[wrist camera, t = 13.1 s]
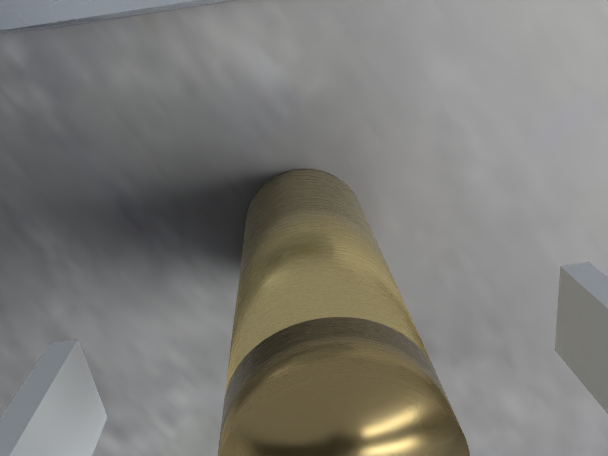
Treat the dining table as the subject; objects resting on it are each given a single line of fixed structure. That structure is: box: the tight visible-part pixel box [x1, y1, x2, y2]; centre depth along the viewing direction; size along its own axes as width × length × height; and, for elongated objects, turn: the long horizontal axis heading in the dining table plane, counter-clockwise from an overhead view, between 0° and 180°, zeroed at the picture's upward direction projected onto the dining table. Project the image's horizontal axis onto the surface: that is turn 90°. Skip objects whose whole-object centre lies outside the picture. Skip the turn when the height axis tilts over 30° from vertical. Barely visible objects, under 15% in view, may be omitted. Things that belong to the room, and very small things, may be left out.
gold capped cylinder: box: [218, 169, 470, 456], centre depth 16 cm, size 5×5×13 cm
